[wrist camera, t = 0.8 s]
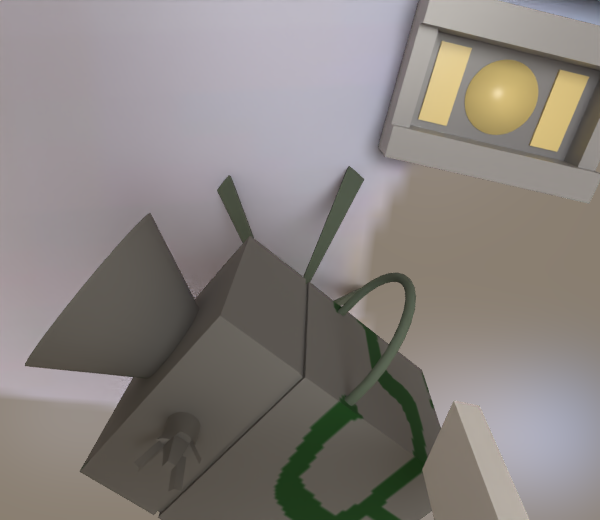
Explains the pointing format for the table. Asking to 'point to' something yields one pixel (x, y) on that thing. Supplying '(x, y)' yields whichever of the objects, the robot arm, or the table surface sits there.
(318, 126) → the table surface
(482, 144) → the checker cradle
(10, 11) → the table surface
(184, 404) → the camera
